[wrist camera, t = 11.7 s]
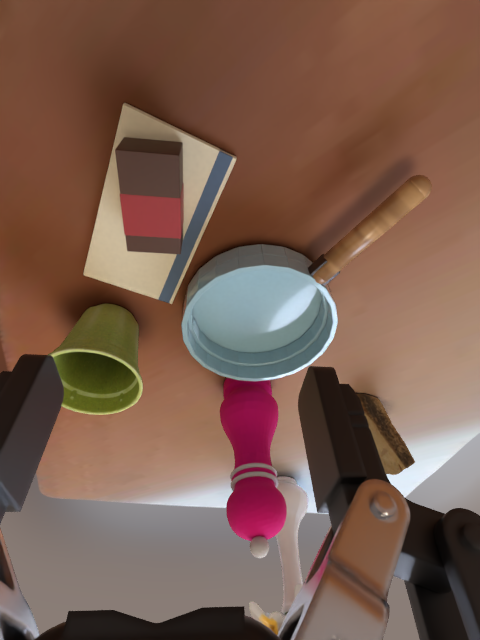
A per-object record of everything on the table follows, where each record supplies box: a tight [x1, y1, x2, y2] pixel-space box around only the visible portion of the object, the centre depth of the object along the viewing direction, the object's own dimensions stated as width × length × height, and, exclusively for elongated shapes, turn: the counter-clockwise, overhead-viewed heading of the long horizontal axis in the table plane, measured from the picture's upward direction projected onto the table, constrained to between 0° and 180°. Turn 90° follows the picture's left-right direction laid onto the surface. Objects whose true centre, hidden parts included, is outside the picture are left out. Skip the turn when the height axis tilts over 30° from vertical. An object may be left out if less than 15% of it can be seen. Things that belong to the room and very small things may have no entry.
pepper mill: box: [220, 377, 287, 558], centre depth 41 cm, size 7×7×20 cm
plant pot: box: [48, 304, 143, 415], centre depth 37 cm, size 9×9×9 cm
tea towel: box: [83, 103, 236, 304], centre depth 32 cm, size 16×9×1 cm, turn 155°
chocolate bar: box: [115, 137, 184, 254], centre depth 29 cm, size 8×4×3 cm, turn 175°
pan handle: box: [308, 175, 432, 286], centre depth 30 cm, size 12×2×2 cm, turn 140°
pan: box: [181, 244, 338, 381], centre depth 38 cm, size 15×16×4 cm
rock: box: [357, 394, 415, 475], centre depth 52 cm, size 11×9×10 cm
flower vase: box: [249, 476, 309, 635], centre depth 58 cm, size 13×18×25 cm
